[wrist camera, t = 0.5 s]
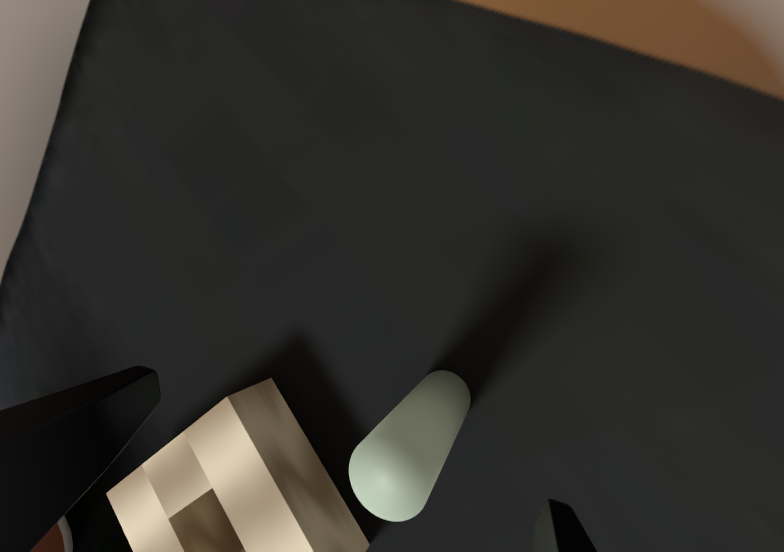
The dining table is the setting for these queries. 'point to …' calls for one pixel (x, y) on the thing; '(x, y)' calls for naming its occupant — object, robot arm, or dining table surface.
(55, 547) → the coffee cup
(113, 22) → the dining table surface
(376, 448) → the peg
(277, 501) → the hole board
